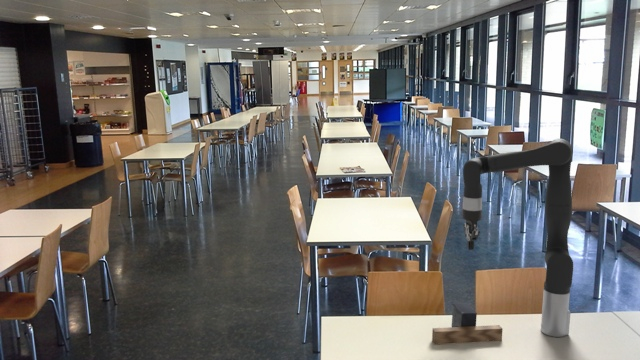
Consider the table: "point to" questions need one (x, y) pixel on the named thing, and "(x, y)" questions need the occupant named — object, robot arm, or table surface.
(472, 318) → the small box
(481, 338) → the walnut board
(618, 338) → the table surface
